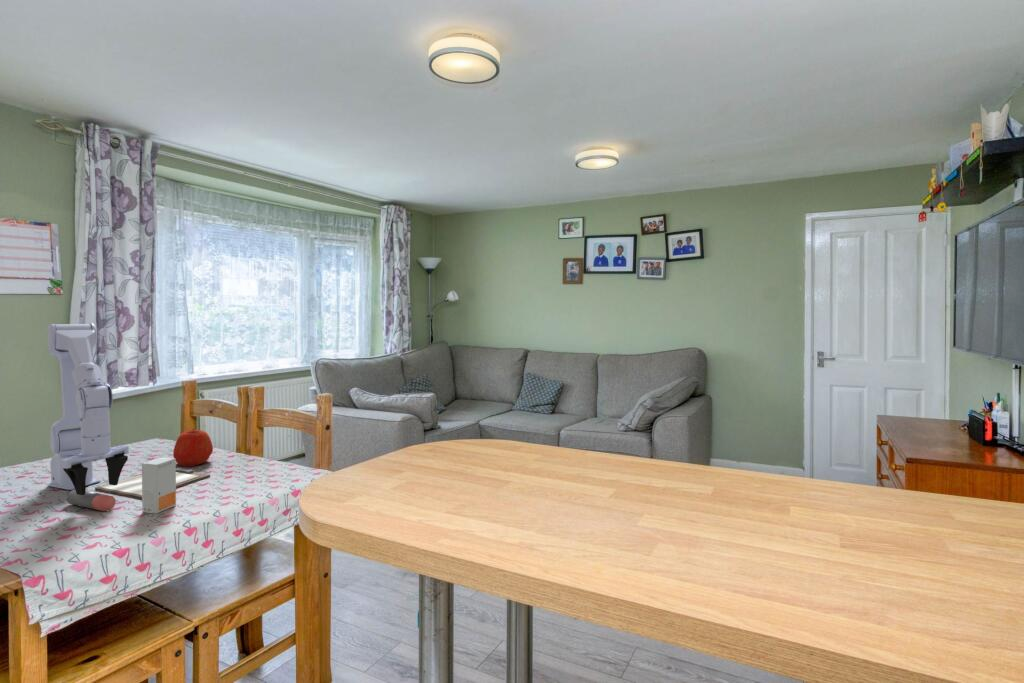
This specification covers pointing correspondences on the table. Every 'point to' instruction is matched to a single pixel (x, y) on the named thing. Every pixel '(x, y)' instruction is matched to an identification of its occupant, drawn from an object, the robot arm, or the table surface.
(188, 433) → the apple
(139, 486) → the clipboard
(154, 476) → the skincare box
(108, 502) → the marker
